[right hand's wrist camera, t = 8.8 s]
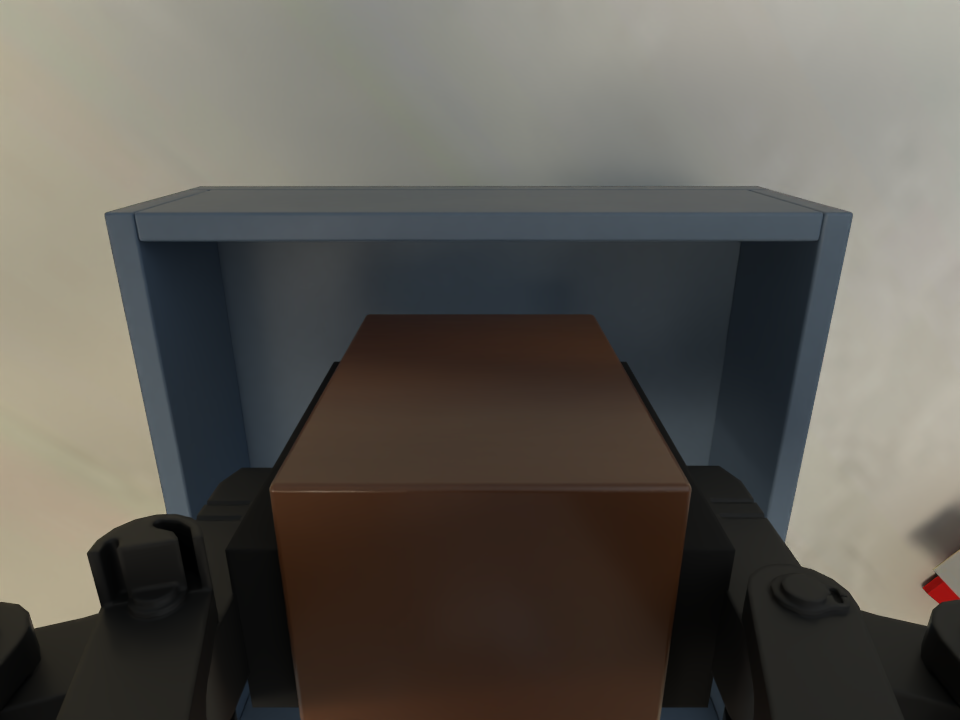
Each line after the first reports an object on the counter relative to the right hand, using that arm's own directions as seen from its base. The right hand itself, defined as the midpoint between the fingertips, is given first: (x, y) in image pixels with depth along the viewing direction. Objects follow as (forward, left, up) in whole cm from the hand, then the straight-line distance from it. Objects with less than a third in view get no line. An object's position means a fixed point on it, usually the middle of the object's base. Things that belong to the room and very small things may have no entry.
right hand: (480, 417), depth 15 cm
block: (0, 0, 0) cm, 0 cm away
